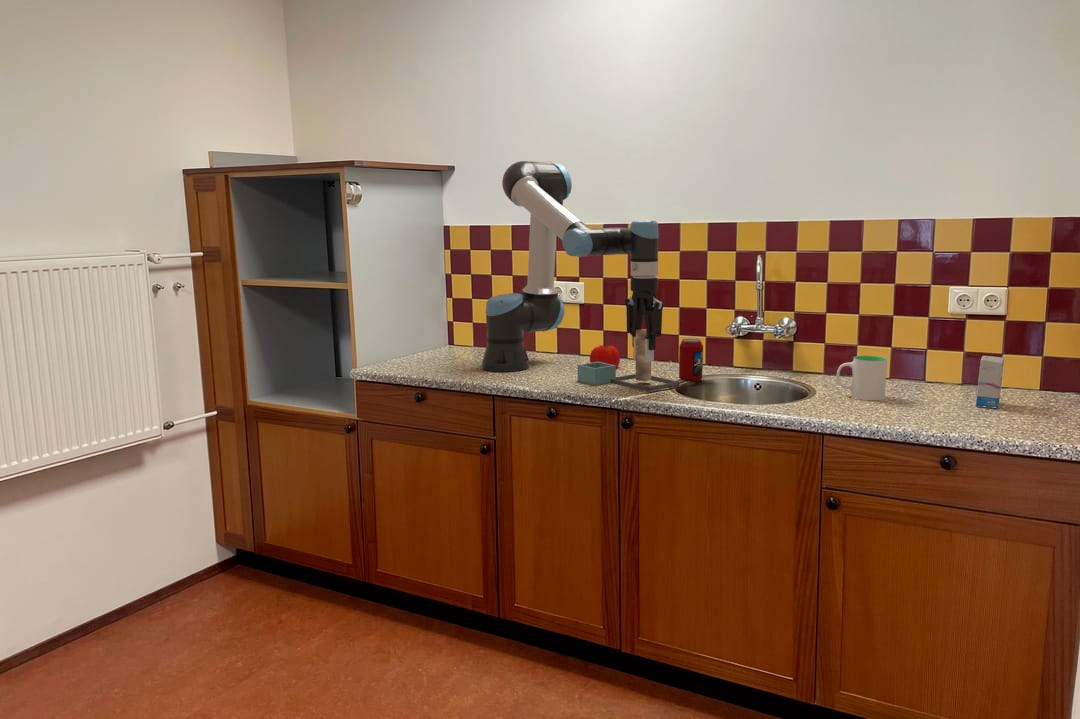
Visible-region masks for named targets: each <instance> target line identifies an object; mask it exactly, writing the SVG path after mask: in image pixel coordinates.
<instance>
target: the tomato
mask: <svg viewBox="0 0 1080 719" xmlns="http://www.w3.org/2000/svg"><path fill="white" fill-rule="evenodd" d="M620 356H621V354H620V352H619V350H618V349H617V347H616V346H614V345H605V346H604V345H603V344H602V345H598V346H595V347H594V348H593V349H592V350H591V352H590V354H589V363H593V362H602V363H606V364H611V365H616V369H617V368H618V367H619V365H620V363H621V357H620Z"/></svg>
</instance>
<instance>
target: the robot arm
mask: <svg viewBox="0 0 1080 719" xmlns="http://www.w3.org/2000/svg"><path fill="white" fill-rule="evenodd" d="M570 174H571V173H570V172H569V171H568V170H567V167H566V166H565V165H564V164H562V163H559V162H552V161H529V160H528V161H527V160H526V161H525V160H523V161H522V160H520V161H517V162H515V163H513V164H511V165H509V167H508V168H506V170H505V172H504V174H503V177H502V183H501V184H502V190H503V192H504V194H505V196H506V197H507V198H508V200H509V201H510V202H512V203H513V205H515V206H516V207H523V208H524V209H525V210H526V211H527V212H528V213H530V221H529V241H528V242H529V243H528V263H527V264H528V265H527V284H526V286H525V287H523V288H522V293H517V292H516V293H515V292H514V293H513V292H510V293H503V294H498V295H495V296H491V297H490V298H488V299H487V301H486V303H485V304H486V307H485V317H486V318H485V319H486V321H485V322H486V346H485V351H484V353H483V358H482V359H481V360H482V362H481V367H482V368H481V369H482V370H484V371H489V372H496V373H498V372H499V373H503V372H504V373H508V372H519V371H523V370H524V371H525V370H527V369H529V368H530V360H529V357H528V352H527V351H526V347H525V345H524V334H527V333H529V334H530V333H535V332H536V333H537V332H538V333H539V332H547V331H551V330H554V329H557V328H558V326H560V325H561V323H562V322H563V320H564V316H565V304H564V301H563V298H562V297H561V296H560V295H559V291H558V290H557V288H556V287H555V268H556V248H557V237H558V238H559V239H560V240H561V241H562V247H563V249H564V252H565V253H566V254H567V255H568V256H569V257H578V258H584V257H594V256H613V255H623V256H625V255H629V256H630V275H631V278H630V291H631V292H632V295H631V297H629V298H625V299H624V303H625V308H626V310H625V311H626V312H625V314H626V333H627V334H630V335H631V337H632V340H631V342H632V343H631V344H632V348H633V360H635V361H636V330H638V329H642V325H643V318H644V321H645V322H644V323H645V329H646V331H647V337H645V338H646V339H645V362H651V363H652V362H654V361H655V351H656V339H657V338H660V337H661V336H662V330H663V329H662V327H663V309H664V306H665V302H664V300H663V301H660V300H659V299H658V297H657V294H656V292H658V289H659V279H658V278H657V276H659V240H660V239H659V237H660V233H659V223H658V222H657V220H632V221H631V223H630V227H618V226H616V227H615V226H614V227H611V226H610V227H604V228H603V227H599V228H597V227H592V228H591V227H589V226H588V225H587V224H585V222H583V221H581V219H579V218H578V217H576V215H574V214H573V213H572V212H571V211H570V210H568V209H567V208H566V207H564V200H566V199H567V198H569V197H570V196H569V195H570V194H571V192H572V184H573V182H572V177H571V175H570ZM651 333H652V334H651Z"/></svg>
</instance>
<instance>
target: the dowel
mask: <svg viewBox="0 0 1080 719" xmlns="http://www.w3.org/2000/svg"><path fill="white" fill-rule="evenodd" d="M651 334H652V333H651ZM645 337H647V331H646V328H644V329H643V328H641V329H638V330H636V360H635V374H636V378H635V380H636V381H639V382H649V381H652V380H651V376H652V361H651V362H645V339H646V338H645Z"/></svg>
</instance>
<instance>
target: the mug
mask: <svg viewBox="0 0 1080 719" xmlns="http://www.w3.org/2000/svg"><path fill="white" fill-rule="evenodd" d="M844 367H849V368H851V371H852V378H851V382H850V383H849V384H847V385H846V384H843V383H842V382H841V379H840V372H841V370H842V369H843V368H844ZM887 369H888V358H886V357H883V356H877V355H856V356H853V360H852V361H851V362H844V363H842V364H840V365H839V367H838V368H837V371H836V381H837V382H838V384H839V385H840V387H842V388H844V389H847V390H850V391H851V398H852V397H854V398H853V399H855V398H857V399H856V400H859V399H863V400H862V401H865V400H880V401H883V400H882V399H884V398H885V399H886V388H887V387H886V383H887ZM885 399H884V400H885Z"/></svg>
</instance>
